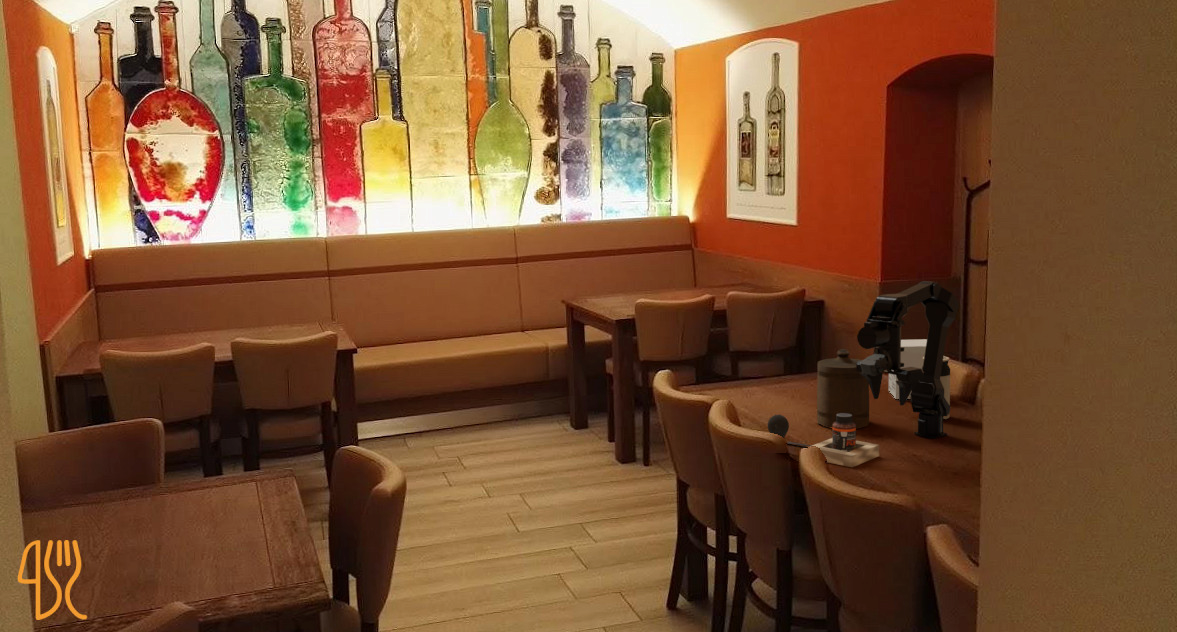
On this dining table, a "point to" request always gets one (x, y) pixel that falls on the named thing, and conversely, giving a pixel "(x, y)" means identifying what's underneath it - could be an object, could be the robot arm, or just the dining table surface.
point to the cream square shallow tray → (849, 453)
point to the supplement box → (908, 361)
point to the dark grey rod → (798, 444)
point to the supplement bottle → (844, 433)
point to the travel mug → (945, 380)
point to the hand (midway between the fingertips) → (888, 402)
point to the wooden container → (841, 391)
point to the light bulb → (778, 425)
